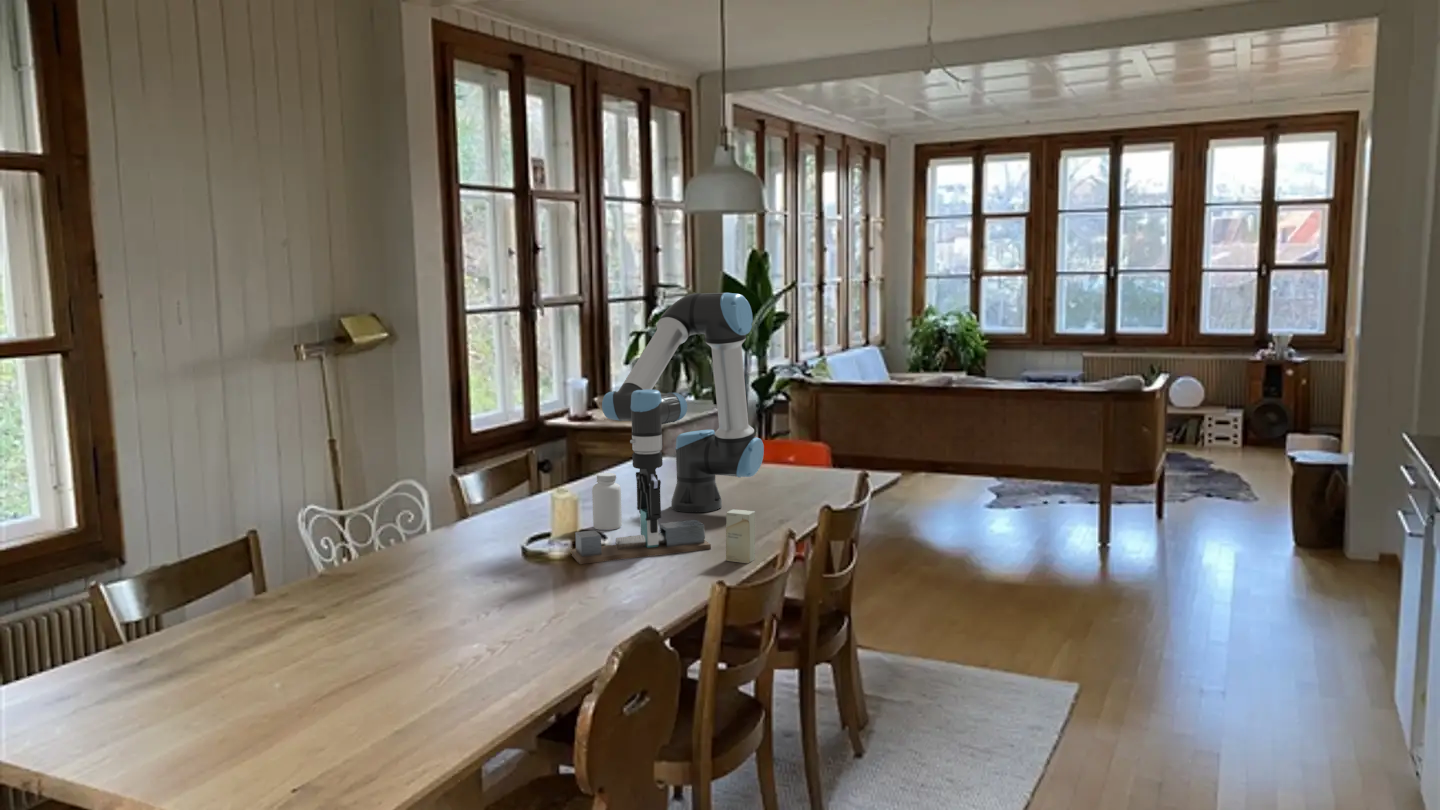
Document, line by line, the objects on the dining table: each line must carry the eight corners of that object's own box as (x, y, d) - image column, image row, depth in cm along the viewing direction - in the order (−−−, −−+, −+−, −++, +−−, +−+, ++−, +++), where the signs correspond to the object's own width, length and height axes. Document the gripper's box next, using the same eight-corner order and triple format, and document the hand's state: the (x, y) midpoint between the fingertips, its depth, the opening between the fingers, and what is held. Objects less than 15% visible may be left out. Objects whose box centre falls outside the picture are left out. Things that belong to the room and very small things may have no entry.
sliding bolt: (700, 537, 271) (699, 503, 270) (706, 541, 267) (706, 506, 266) (614, 546, 263) (613, 511, 262) (620, 551, 258) (618, 515, 257)
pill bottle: (624, 524, 293) (622, 471, 291) (618, 530, 285) (617, 477, 284) (596, 523, 294) (595, 471, 292) (590, 530, 286) (588, 477, 284)
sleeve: (696, 537, 271) (696, 519, 271) (704, 542, 266) (704, 524, 265) (659, 541, 268) (659, 523, 267) (667, 547, 262) (666, 528, 262)
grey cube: (595, 548, 262) (594, 530, 261) (601, 554, 256) (600, 535, 256) (576, 551, 260) (575, 532, 260) (581, 556, 255) (581, 537, 254)
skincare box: (725, 561, 253) (724, 512, 251) (732, 556, 257) (731, 508, 255) (749, 563, 250) (748, 514, 249) (756, 559, 254) (755, 510, 253)
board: (697, 540, 274) (697, 535, 274) (710, 548, 265) (710, 544, 264) (570, 554, 262) (570, 549, 262) (579, 564, 253) (579, 559, 252)
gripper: (623, 447, 268) (625, 535, 271) (643, 458, 251) (645, 552, 254) (650, 445, 271) (653, 532, 273) (672, 455, 254) (675, 548, 257)
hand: (649, 541), depth 264 cm, fingers closed on sliding bolt, 5 cm apart
